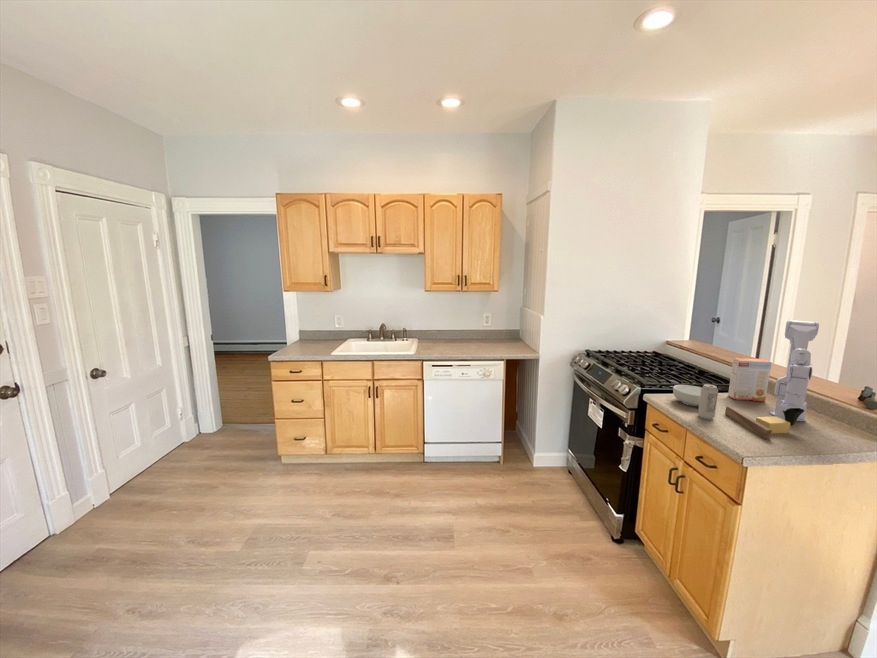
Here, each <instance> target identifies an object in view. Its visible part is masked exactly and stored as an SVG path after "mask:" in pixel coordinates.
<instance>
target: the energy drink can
mask: <svg viewBox="0 0 877 658" xmlns="http://www.w3.org/2000/svg"><path fill="white" fill-rule="evenodd" d="M718 395H719V390H718V387H717V385H714V384H709V383H705V384H704V383H703V385H702V387H701V395H700V402H699V406H698V409H697V410H698V411H697V415H698V417H699V416H700V417H701V419H703V418H704V419H703V420H706V419H712V420H713V419H714V418H715V417H716V416H715V415H716V409H717V408H716V407H717V401H718ZM700 417H699V418H700Z"/></svg>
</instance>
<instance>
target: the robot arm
mask: <svg viewBox="0 0 877 658" xmlns="http://www.w3.org/2000/svg"><path fill="white" fill-rule="evenodd" d="M785 323H786V324H785V331H784V338H785V339H787V340H789V344H790V347H789V353H788V358H787V359H788V360H787V366H786V372H785V373H786V374H785V376H781V377H778V378H777V379H776V383H775V386H774V392H773V393H774V395H775V396H776V397H777V398H776V404H775V409H774V411H769V412H768V413H769V414H770V415H772V416H773V417H778V418H781V419H783V420H785V421H788V422H790V427H791V426H795V424H796V422H798V421H799V422H807V420H806V413H807V410H808V409H807V408H808V401H806V397H807V392H808V384H809V381H811V378H812V376H813V364H812V363H811V360H812V359H811V358H812V357H811V356H812V353H811V352H810V351H809V350H808V347H809V342H812V341H814V339H815V338H816V336H818V333H819V329H820V323H819V322H818V321H806V320H797V319H795V320H793V319H788V320H787V321H786V322H785Z"/></svg>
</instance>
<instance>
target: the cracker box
mask: <svg viewBox="0 0 877 658" xmlns="http://www.w3.org/2000/svg"><path fill="white" fill-rule="evenodd" d="M771 367H772V361H769V360H767V359H763V358H745V357H743V358H740V357H733V358H732V365H731V373H730V379H729V387H728V393H727V396H728V397H729V396H730V397H729V398H730V399H732V398H733V399H732V400H734V399H736V400H737V401H749V400H753V402H764V401H765V402H766V398H767V393H768V387H769V386H768V385H769V380H770V375H771Z"/></svg>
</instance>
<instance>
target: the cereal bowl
mask: <svg viewBox="0 0 877 658" xmlns="http://www.w3.org/2000/svg"><path fill="white" fill-rule="evenodd" d="M701 388H702V387H701V386H695V385H690V384H689V385H688V384H675V385H674V386H673V388H672V391H673V392H672V393H673V396H674V397H675V398H676V399H677V400H679V401H680V402H681V403H683V404H684V405H686V404H688V405H687V406H690V405H692V406H691V407H699V402H700V395H701Z"/></svg>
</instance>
